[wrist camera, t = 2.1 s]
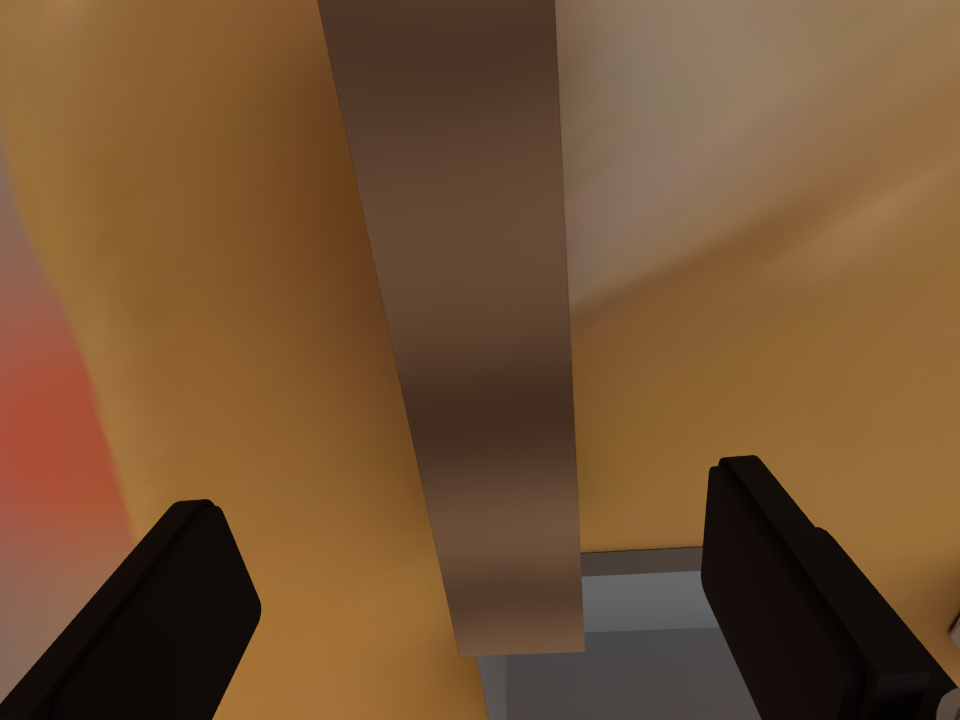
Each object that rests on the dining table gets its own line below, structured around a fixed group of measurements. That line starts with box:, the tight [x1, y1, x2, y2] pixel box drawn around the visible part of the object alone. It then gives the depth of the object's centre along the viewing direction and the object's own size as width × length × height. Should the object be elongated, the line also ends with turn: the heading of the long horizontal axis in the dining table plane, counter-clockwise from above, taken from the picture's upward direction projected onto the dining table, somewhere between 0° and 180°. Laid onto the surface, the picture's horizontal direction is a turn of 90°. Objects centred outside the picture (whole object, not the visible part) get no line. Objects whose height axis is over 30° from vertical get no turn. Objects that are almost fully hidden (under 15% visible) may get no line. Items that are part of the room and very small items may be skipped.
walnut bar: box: [317, 0, 585, 657], centre depth 15 cm, size 18×4×6 cm, turn 7°
